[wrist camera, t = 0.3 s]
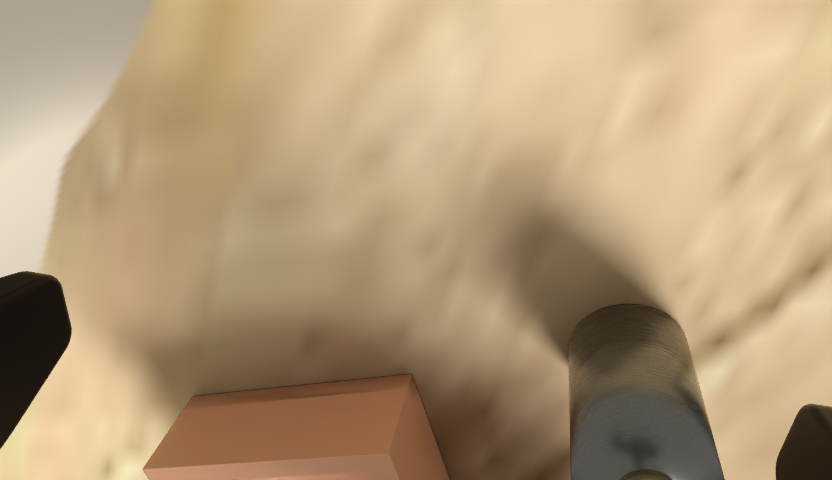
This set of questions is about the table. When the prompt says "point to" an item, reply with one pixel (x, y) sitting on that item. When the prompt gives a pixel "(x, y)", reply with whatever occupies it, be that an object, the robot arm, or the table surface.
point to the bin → (303, 435)
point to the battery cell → (636, 400)
